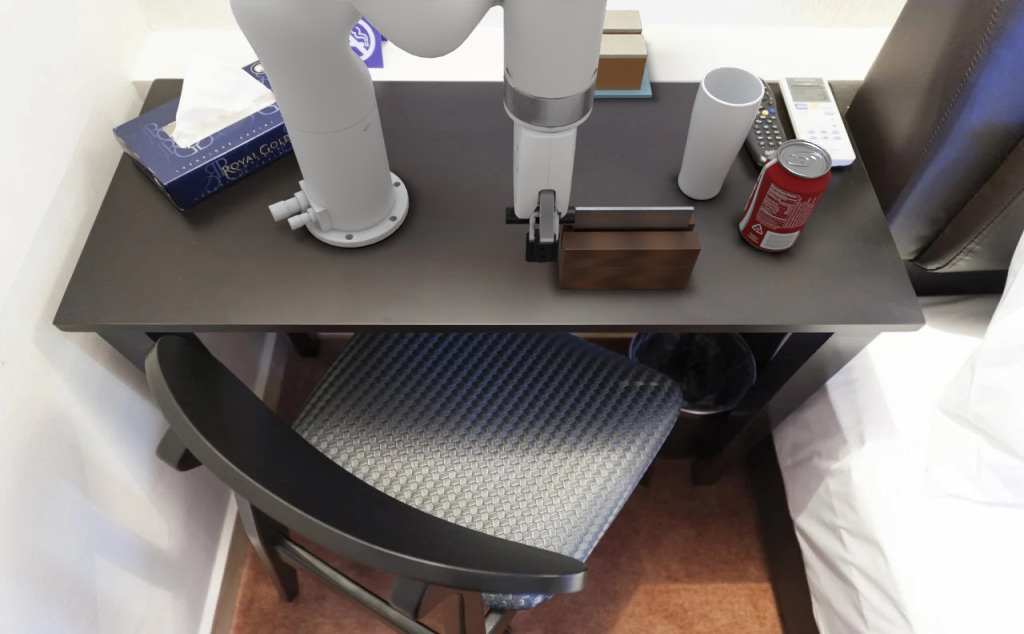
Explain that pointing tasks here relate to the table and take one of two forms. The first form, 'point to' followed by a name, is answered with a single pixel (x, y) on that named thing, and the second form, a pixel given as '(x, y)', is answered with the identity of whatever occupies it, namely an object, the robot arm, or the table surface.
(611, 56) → the boxes on blue tray
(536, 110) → the robot arm
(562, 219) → the knife
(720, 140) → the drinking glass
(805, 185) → the soda can
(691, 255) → the block
